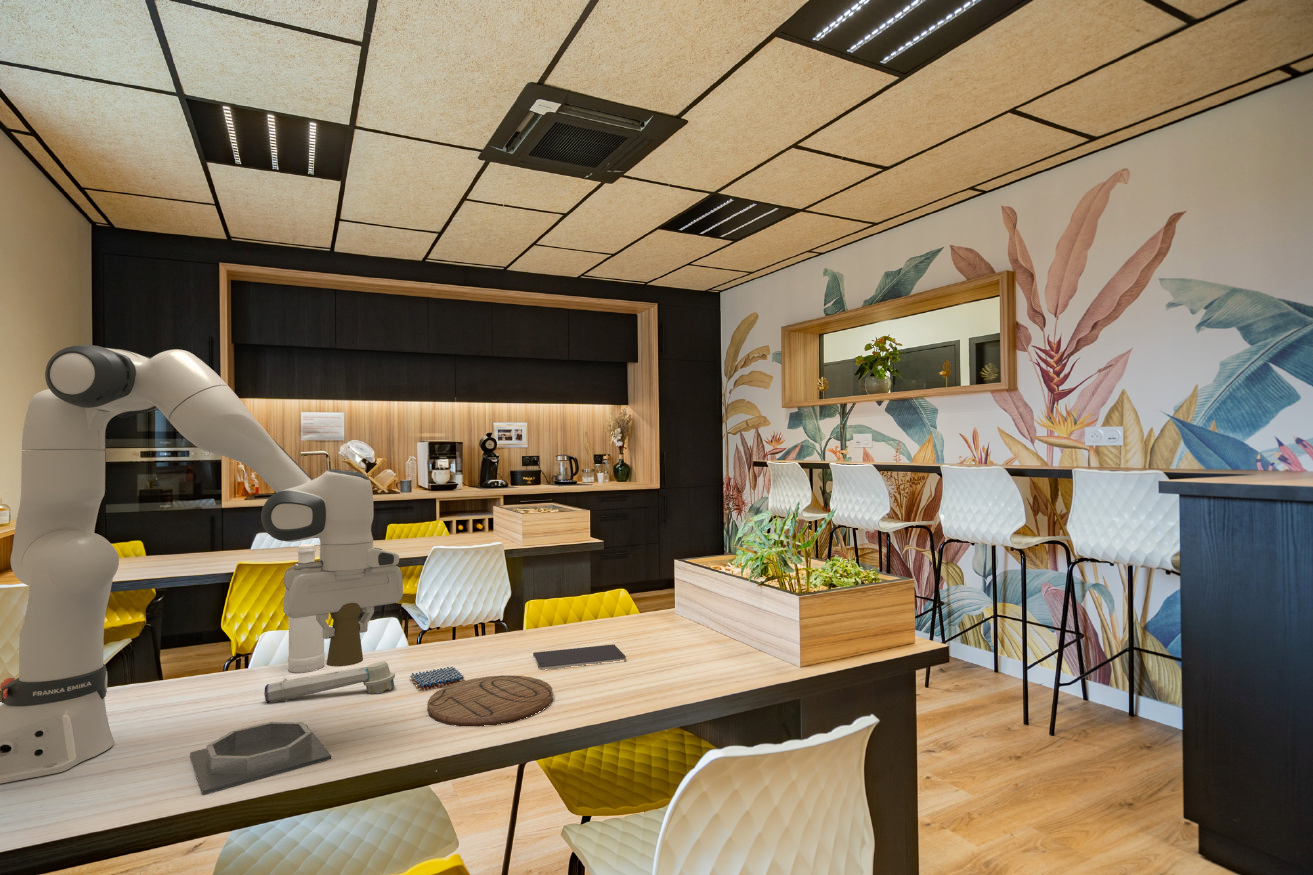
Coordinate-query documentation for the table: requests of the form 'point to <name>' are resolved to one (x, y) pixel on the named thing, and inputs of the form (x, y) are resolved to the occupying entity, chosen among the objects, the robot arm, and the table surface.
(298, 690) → the toothbrush head
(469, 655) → the table surface
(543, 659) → the notebook
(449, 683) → the woven mat
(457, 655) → the table surface
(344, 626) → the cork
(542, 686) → the trivet
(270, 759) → the duct collar
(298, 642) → the bottle
